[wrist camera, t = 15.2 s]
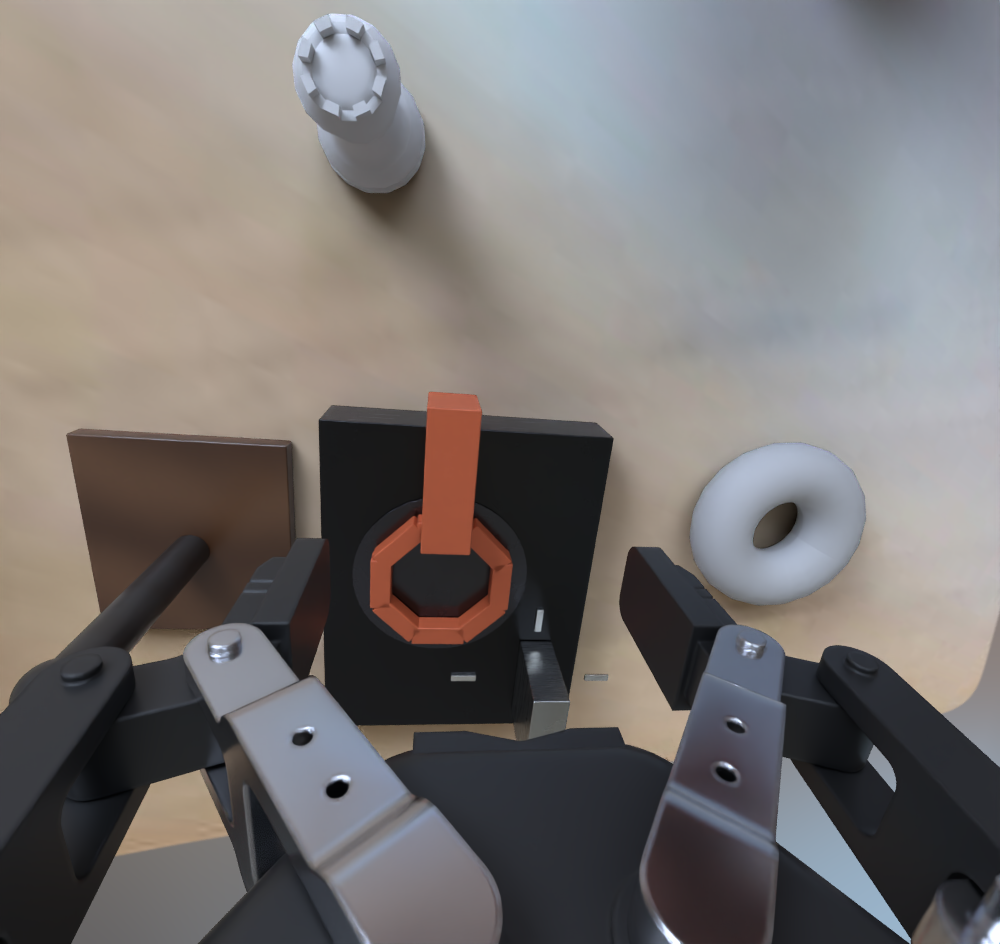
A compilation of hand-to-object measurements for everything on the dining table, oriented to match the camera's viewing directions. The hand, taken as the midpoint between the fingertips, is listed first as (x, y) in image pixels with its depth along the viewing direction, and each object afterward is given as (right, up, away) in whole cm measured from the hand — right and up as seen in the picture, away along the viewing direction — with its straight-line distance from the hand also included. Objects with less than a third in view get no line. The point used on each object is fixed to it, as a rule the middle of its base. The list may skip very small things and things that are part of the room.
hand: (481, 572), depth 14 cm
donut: (+16, 0, +18) cm, 24 cm away
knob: (+2, -9, +16) cm, 19 cm away
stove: (-1, -3, +17) cm, 17 cm away
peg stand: (-16, -1, +14) cm, 21 cm away
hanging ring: (-2, 0, +12) cm, 12 cm away
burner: (-3, -3, +13) cm, 14 cm away
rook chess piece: (-5, +17, +9) cm, 20 cm away
